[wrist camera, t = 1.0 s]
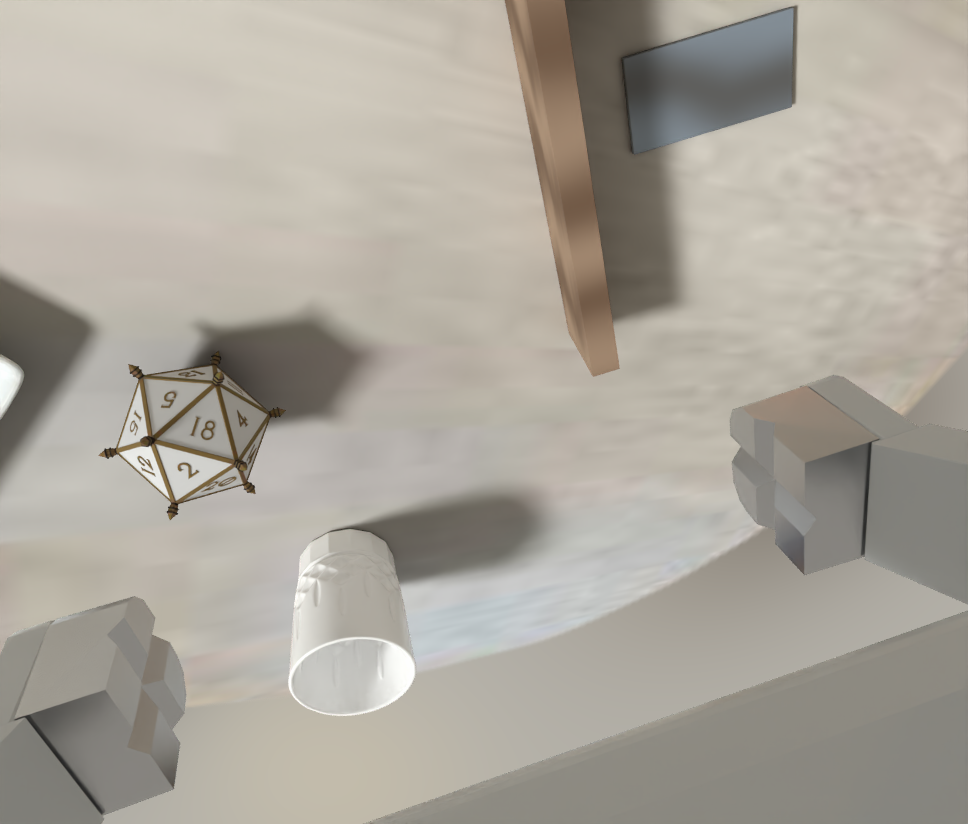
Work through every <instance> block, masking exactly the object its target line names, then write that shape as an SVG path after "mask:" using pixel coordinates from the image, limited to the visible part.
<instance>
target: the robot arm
mask: <svg viewBox="0 0 968 824" xmlns="http://www.w3.org/2000/svg"><path fill="white" fill-rule="evenodd" d="M730 436H731V437H732V438H733V439H734V440H735V441H736V442H737V443H738V444H739V445H740V446H741V447H740V449H739V450H738V452H737V454H736V456H735V457H734V459H733V461H732V470H733V481H734V484H735V487H736V490H737V493H738V496H739V499H740V501H741V503H742V504H743V506H744V508H745V510H746V511H747V513H748V514H749V515H750V516H751V517H752V519H753V520H754V521H755V522H756V523H757V524H758V525H761V526H765V527H768V528H771V529H774V530H775V543H776V545H777V546H778V547H779V548H780V549H781V551H782V552H783V553H784V554H785V555H786V556H787V557H788V558H789V559H790V560H791V561H792V563H793V564H794V565H795V566H796V567H797V568H798V569H799V570H800V571H801V572H802V573H803V574H804V575H807V574H810V573H813V572H816V571H819V570H823V569H826V568H829V567H833V566H836V565H839V564H842V563H846V562H849V561H852V560H855V559H858V558H862V557H865V560H866V561H869V562H871V563H873V564H876V565H878V566H880V567H883V568H885V569H888V570H890V571H892V572H894V573H897V574H899V575H901V576H903V577H906V578H908V579H910V580H913V581H915V582H917V583H920V584H922V585H924V586H927V587H929V588H931V589H933V590H936V591H938V592H940V593H943V594H945V595H947V596H950V597H952V598H954V599H956V600H959V601H961V602H963V603H966V604H968V431H966V430H960V429H955V428H949V427H944V426H939V425H933V424H928V425H925V426H921V427H918V426H917V425H915V424H914V423H912V422H911V421H909V420H908V419H906V418H905V417H903V416H902V415H900V414H899V413H897V412H896V411H894V410H893V409H891V408H890V407H888V406H886V405H885V404H883V403H882V402H880V401H879V400H877V399H876V398H874V397H873V396H871V395H870V394H868V393H867V392H865V391H864V390H862V389H861V388H859V387H858V386H856V385H855V384H853V383H852V382H850V381H849V380H847V379H846V378H844V377H842V376H836V375H832V376H829V377H826V378H823V379H820V380H817V381H814V382H812V383H809V384H806V385H803V386H800V387H799V388H797V389H794V390H791V391H788V392H785V393H782V394H779V395H776V396H773V397H769V398H766V399H763V400H760V401H757V402H754V403H751V404H748V405H745V406H742V407H739V408H736V409H733V410H732V414H731V418H730ZM154 622H155V617H154V615H153V614H152V612H151V611H150V609H149V608H148V606H147V605H146V603H145V602H144V600H143V599H140V598H137V597H135V596H134V597H130V598H127V599H123V600H120V601H116V602H113V603H110V604H106V605H103V606H99V607H96V608H92V609H89V610H86V611H82V612H79V613H75V614H72V615H68V616H65V617H62V618H58V619H56V620H54V621H48V622H45V623H42V624H39V625H35V626H32V627H29V628H26V629H23V630H20V631H17V632H15V633H14V634H13V635H11V636H10V637H8V638H7V640H6V642H5V645H4V647H3V649H2V652H1V654H0V824H101V823H102V822H103V820H104V818H103V815H105V814H108V813H111V812H114V811H116V810H119V809H121V808H124V807H127V806H130V805H133V804H135V803H138V802H141V801H143V800H146V799H149V798H152V797H154V796H157V795H160V794H162V793H165V792H168V791H171V790H173V789H174V784H175V777H176V769H177V763H178V755H179V748H180V742H179V740H178V739H177V737H176V735H175V734H174V732H173V731H172V729H173V728H174V726H175V725H176V724H177V722H178V721H179V720H180V718H181V717H182V716H183V714H184V711H185V702H186V689H185V681H184V673H183V670H182V667H181V664H180V662H179V659H178V656H177V654H176V653H175V651H174V649H173V647H172V646H171V644H170V642H168V641H165V640H163V639H161V638H159V637H156V636H154V635H152V632H153V627H154ZM364 824H968V611H965V612H962V613H960V614H957V615H954V616H951V617H948V618H945V619H943V620H940V621H937V622H934V623H931V624H929V625H926V626H923V627H920V628H917V629H915V630H912V631H909V632H906V633H903V634H901V635H898V636H895V637H892V638H889V639H886V640H884V641H881V642H878V643H875V644H872V645H870V646H867V647H864V648H861V649H859V650H856V651H853V652H850V653H847V654H844V655H842V656H839V657H836V658H833V659H830V660H827V661H824V662H821V663H819V664H816V665H813V666H810V667H807V668H804V669H801V670H799V671H796V672H793V673H790V674H787V675H784V676H782V677H779V678H776V679H773V680H770V681H767V682H764V683H761V684H759V685H756V686H753V687H750V688H747V689H744V690H742V691H739V692H736V693H733V694H730V695H727V696H724V697H721V698H719V699H716V700H713V701H710V702H707V703H704V704H702V705H699V706H696V707H693V708H690V709H687V710H685V711H681V712H679V713H676V714H673V715H670V716H667V717H665V718H661V719H659V720H656V721H653V722H650V723H647V724H644V725H641V726H639V727H636V728H633V729H630V730H627V731H624V732H622V733H619V734H616V735H613V736H610V737H608V738H605V739H602V740H599V741H596V742H593V743H590V744H588V745H585V746H582V747H579V748H576V749H574V750H571V751H568V752H565V753H562V754H559V755H556V756H554V757H551V758H548V759H546V760H542V761H540V762H537V763H534V764H531V765H529V766H526V767H523V768H520V769H517V770H514V771H511V772H508V773H506V774H503V775H500V776H497V777H494V778H491V779H489V780H486V781H483V782H480V783H478V784H474V785H472V786H469V787H466V788H463V789H460V790H457V791H455V792H452V793H449V794H446V795H443V796H441V797H438V798H435V799H432V800H429V801H426V802H423V803H421V804H418V805H415V806H412V807H409V808H406V809H404V810H401V811H398V812H395V813H392V814H390V815H387V816H384V817H381V818H378V819H376V820H373V821H370V822H367V823H364Z"/></svg>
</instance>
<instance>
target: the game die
mask: <svg viewBox="0 0 968 824" xmlns="http://www.w3.org/2000/svg"><path fill="white" fill-rule="evenodd" d="M211 357H212V359H211V360H210V361H211V365H206V366H200V367H193V368H187V369H180V370H174V371H167V372H161V373H155V374H148V375H143V373H142V370H140V369H139V368H138V367H139V366H133V365H130V364H128V365H129V369H130V374H132V375H133V377H136V378H138V379H139V380H138V383H137V386H136V390H135V393H134V396H133V399H132V402H131V405H130V408H129V411H128V414H127V417H126V420H125V423H124V426H123V429H122V432H121V435H120V438H119V441H118V444H117V447H116V448H115V449H114V448H109V449H106V448H105V450H104V451H103V452H102V453H101V454H100V455H98V456H102V457H106V458H107V459H109V457H113V456H114V455H116V454H118V455H119V456H120V457H121V458H123V459H124V460H125V461H126V462H127V463H128V464H129V465H130V466H131V467H133V468H134V469H135V470H136V471H137V472H138V473H139V474H140V475H141V476H143V477H144V478H145V479H146V480H147V481H148V482H149V483H150V484H151V485H153V486H154V487H155V488H156V489H157V490H158V491H159V492H160V493H161V494H163V495H164V496H165V497H166V498H167V499H168V500H169V501H170V502H171V505H170V507H168V508H169V509H168V511H167V513H168V516H169V519H170V520H171V519H172V518H173V517H174V516H175V515H178V513H177V511H178V510H179V509H178V504H180V503H183V502H187V501H190V500H194V499H197V498H200V497H204V496H207V495H211V494H214V493H217V492H221V491H224V490H228V489H231V488H235V487H238V486H241V485H243V486H244V490H246V491H247V493H254V494H256V493H255V489H254V488H255V486H254V485H252V483H249V482H248V481H247V480H248V478H249V475H250V472H251V469H252V467H253V464H254V461H255V458H256V455H257V453H258V450H259V447H260V444H261V442H262V439H263V436H264V433H265V430H266V428H267V425H268V422H269V419H270V417H275V418H276V417H278V416H279V417H280V416H281V415H282V414H283V413H284V412H285V411H286V410H283V409H280V408H278V407H277V408H276V409H274V408H273V410H271V411H268V410H266V409H265V408H264V407H263V406H262V405H261V404H260V403H259V402H257V401H256V400H255V399H254V398H253V397H252V396H251V395H249V394H248V393H247V392H246V391H245V390H244V389H243V388H242V387H240V386H239V385H238V384H237V383H236V382H235V381H234V380H232V379H231V378H230V377H229V376H228V375H227V374H226V373H225V372H223V371H222V370H221V369H220V368H219V367H218V366H217V365H218V364H220V360H221V357H220V355H219V352H217V353H216V354H214V355H213V356H211Z"/></svg>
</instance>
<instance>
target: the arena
mask: <svg viewBox="0 0 968 824" xmlns="http://www.w3.org/2000/svg"><path fill="white" fill-rule="evenodd" d="M505 3H506V8H507V13H508V19H509V24H510V29H511V34H512V39H513V45H514V50H515V55H516V60H517V65H518V71H519V76H520V81H521V86H522V91H523V97H524V102H525V107H526V112H527V117H528V123H529V128H530V133H531V138H532V143H533V149H534V154H535V159H536V164H537V169H538V174H539V180H540V185H541V190H542V195H543V200H544V206H545V211H546V216H547V221H548V226H549V232H550V237H551V242H552V247H553V252H554V258H555V263H556V268H557V273H558V278H559V284H560V289H561V294H562V299H563V304H564V310H565V315H566V320H567V325H568V330H569V334H570V336H571V338H572V340H573V341H574V343H575V345H576V347H577V349H578V350H579V352H580V354H581V356H582V358H583V359H584V361H585V363H586V365H587V367H588V369H589V370H590V372H591V374H592V376H593V377H594V376H597V375H600V374H604V373H607V372H610V371H613V370H617V369H620V368H619V361H618V354H617V348H616V341H615V334H614V328H613V321H612V314H611V308H610V301H609V294H608V287H607V281H606V274H605V267H604V261H603V254H602V247H601V241H600V234H599V227H598V220H597V214H596V207H595V200H594V194H593V187H592V180H591V174H590V167H589V160H588V153H587V147H586V140H585V133H584V127H583V120H582V113H581V107H580V100H579V93H578V86H577V80H576V73H575V66H574V60H573V53H572V46H571V40H570V33H569V26H568V20H567V13H566V6H565V0H505ZM792 61H793V8H792V7H789V8H786V9H782V10H779V11H776V12H772V13H769V14H766V15H762V16H759V17H756V18H752V19H749V20H746V21H742V22H739V23H736V24H732V25H729V26H726V27H722V28H719V29H716V30H712V31H709V32H706V33H702V34H699V35H696V36H693V37H689V38H686V39H683V40H679V41H676V42H673V43H669V44H666V45H663V46H659V47H656V48H653V49H649V50H646V51H643V52H639V53H636V54H633V55H629V56H626V57H623V58H622V65H623V74H624V83H625V92H626V101H627V110H628V119H629V128H630V136H631V145H632V153H633V154H634V155H635V154H638V153H642V152H645V151H648V150H651V149H655V148H658V147H661V146H665V145H668V144H671V143H675V142H678V141H681V140H685V139H688V138H691V137H694V136H698V135H701V134H704V133H708V132H711V131H714V130H718V129H721V128H724V127H727V126H731V125H734V124H737V123H741V122H744V121H747V120H751V119H754V118H757V117H760V116H764V115H767V114H770V113H774V112H777V111H780V110H784V109H787V108H790V107H792Z"/></svg>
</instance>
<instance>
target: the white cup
mask: <svg viewBox="0 0 968 824" xmlns="http://www.w3.org/2000/svg"><path fill="white" fill-rule="evenodd" d="M415 675H416V663H415V658H414V653H413V648H412V643H411V638H410V632H409V627H408V622H407V616H406V611H405V606H404V602H403V598H402V594H401V588H400V584H399V581H398V578H397V575H396V569H395V564H394V558H393V555H392V553H391V551H390V549H389V547H388V545H387V543H386V542H385V541H384V540H382V539H380V538H379V537H377V536H375V535H374V534H372V533H371V532H366V531H360V530H354V529H346V530H340V531H334V532H329V533H327V534H325V535H323V536H321V537H319V538H318V539H316V540H314V541H312V542H311V543H310V544H309V545H308V547H307V548H306V549H305V551H304V552H303V553H302V555H301V556H300V565H299V580H298V587H297V590H296V592H295V603H294V612H293V627H292V639H291V654H290V668H289V689H290V692H291V694H292V695H293V697H294V698H295V699H296V700H297V701H298V702H299V703H300V704H301V705H303V706H304V707H306V708H308V709H310V710H313V711H315V712H319V713H322V714H327V715H336V716H349V715H358V714H364V713H368V712H372V711H375V710H378V709H380V708H382V707H385V706H387V705H388V704H391V703H392V702H394V701H396V700H397V699H399V698H400V697H401V696H402V695H403V694H404V693H405V692H406V691H407V690H408V689H409V688H410V686H411V685H412V683H413V681H414V679H415Z"/></svg>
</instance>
